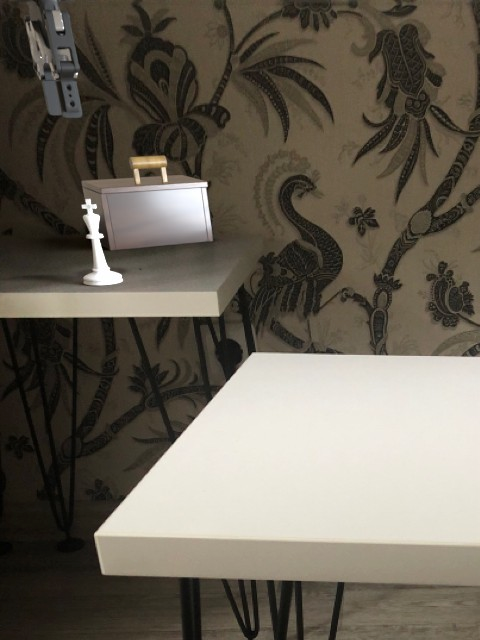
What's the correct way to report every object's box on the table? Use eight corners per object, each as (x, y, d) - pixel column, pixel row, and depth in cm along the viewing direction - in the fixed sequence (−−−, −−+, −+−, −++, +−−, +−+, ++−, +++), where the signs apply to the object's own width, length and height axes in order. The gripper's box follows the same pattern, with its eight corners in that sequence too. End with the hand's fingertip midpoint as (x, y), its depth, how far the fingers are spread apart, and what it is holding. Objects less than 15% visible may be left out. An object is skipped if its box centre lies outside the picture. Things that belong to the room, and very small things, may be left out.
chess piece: (91, 278, 122) (75, 197, 117) (128, 278, 122) (113, 196, 117) (77, 285, 118) (60, 201, 113) (115, 285, 118) (99, 201, 113)
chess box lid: (208, 187, 137) (204, 154, 134) (101, 194, 130) (95, 160, 128) (183, 180, 146) (178, 149, 144) (82, 186, 139) (76, 154, 137)
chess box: (214, 248, 142) (206, 187, 137) (112, 258, 135) (100, 194, 130) (191, 239, 150) (183, 180, 146) (94, 248, 143) (82, 186, 139)
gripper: (-14, -45, 104) (22, 115, 112) (5, -59, 94) (42, 120, 102) (55, -43, 107) (85, 113, 116) (81, -56, 97) (111, 117, 105)
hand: (65, 116), depth 109 cm, fingers open, 8 cm apart
